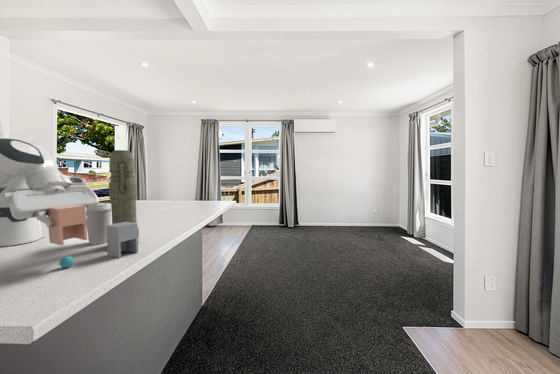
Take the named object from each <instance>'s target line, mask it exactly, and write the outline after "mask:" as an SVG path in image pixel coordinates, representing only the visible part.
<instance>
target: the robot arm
mask: <svg viewBox="0 0 560 374" xmlns="http://www.w3.org/2000/svg"><path fill="white" fill-rule="evenodd" d="M98 203H100V198H99V197H98V196H97V194H96V192H95V191H94V190H93V188H91V187H90V186H89V185H87V180H86V179H85V178H81V177H75V176H70V175H66V174H63V173H62V172H61V171H60V170H59V166H58V164H57V162H56V161H55V159H54V157H53V156H52V155H51V154H50V152H49V151H48V150H47V148H45V147H43V146H42V145H40V144H37V143H35V142H28V141H23V140H19V139H14V138H9V136H8V135H7V134H6V133H5V130H4V129H3V126H2V122H1V120H0V247H9V246H16V245H23V244H27V243H31V242H36V241H38V240H40V239H43V238H46V237H47V235H46V233H42V229H41V228H42V227H41V223H43V224H45V226H46V228H49V227H53V226H55V224H56V223H55V221H54V218H51V219H50V218H48V212H47V210H50V208H53V207H62V206H71V205H82V206H85V213H86V210H92V209H95V208H96V207H97V205H98ZM86 220H87V216H86Z"/></svg>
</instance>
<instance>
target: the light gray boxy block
mask: <svg viewBox="0 0 560 374" xmlns="http://www.w3.org/2000/svg"><path fill="white" fill-rule="evenodd" d="M137 227H138V222H137V223H131V222H121V223H115V224H112V223H110V225H106V228H107V243H106V246H107V256H110V257H114V258H117V259H121V258H122V253H123V252H126V251H127V252H129V253H135V254H138V253H139V243H138V242H139V237H138V231H137Z"/></svg>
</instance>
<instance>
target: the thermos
mask: <svg viewBox="0 0 560 374" xmlns="http://www.w3.org/2000/svg"><path fill="white" fill-rule="evenodd" d="M134 159H135V157H134V156H133V153H132V151H130V150H124V149H123V150H121V149H119V150H117V149H116V150H114V151H111V154H110V156H109V173H110V180H109V182H108V194H109V196H108V197H109V198H108V199H109V200H110V205H111V224H115V223H121V222H131V223H137V224H138V222H137V198H138V189H137V188H138V186H137V184H138V183H137V182H136V179H135V174H134V173H135V160H134ZM137 231H138V238H139V235H140V233H139V232H140V231H139V227H138V226H137ZM138 244H139V241H138Z"/></svg>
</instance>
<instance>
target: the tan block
mask: <svg viewBox="0 0 560 374" xmlns="http://www.w3.org/2000/svg"><path fill="white" fill-rule="evenodd" d="M47 212H48V216H47V217H48V218H50V219H51V218H54V221H55V223H56V224H55V226H53V227H48V235H49V243H51V244H54V245H58V246H64V245H65V244H64V241H65V240H69V239H70V240H71V239H78V240H82V241H88V233H87V227H86V213H85V206H82V205H71V206H62V207H53V208H50V210H47Z"/></svg>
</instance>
